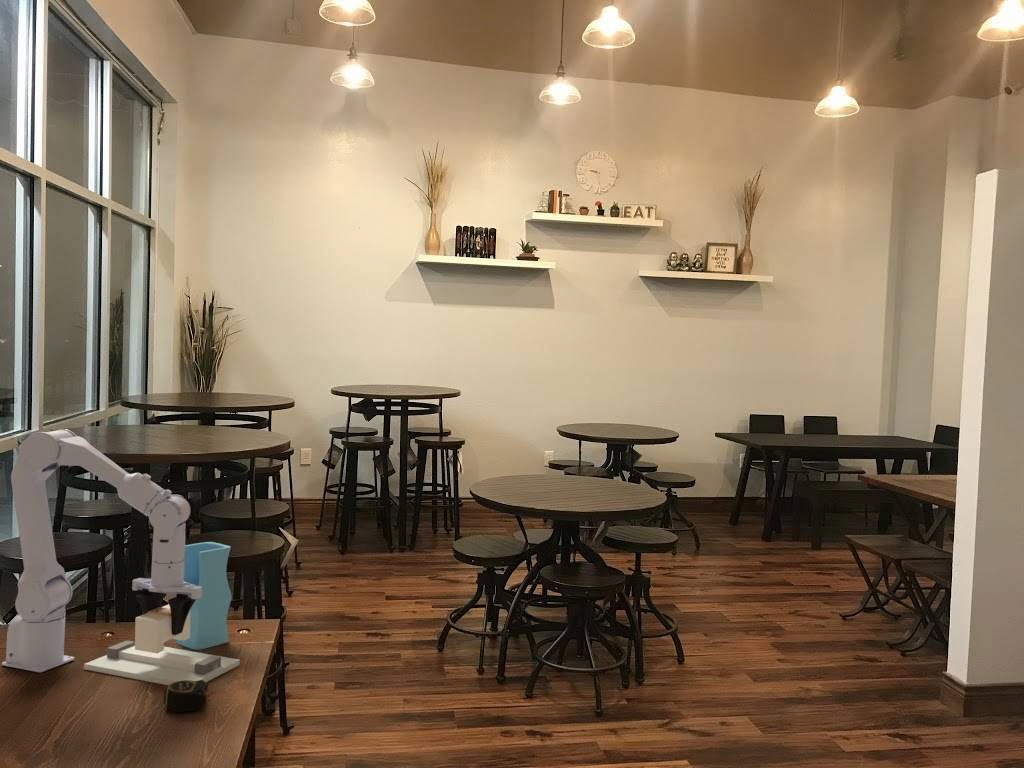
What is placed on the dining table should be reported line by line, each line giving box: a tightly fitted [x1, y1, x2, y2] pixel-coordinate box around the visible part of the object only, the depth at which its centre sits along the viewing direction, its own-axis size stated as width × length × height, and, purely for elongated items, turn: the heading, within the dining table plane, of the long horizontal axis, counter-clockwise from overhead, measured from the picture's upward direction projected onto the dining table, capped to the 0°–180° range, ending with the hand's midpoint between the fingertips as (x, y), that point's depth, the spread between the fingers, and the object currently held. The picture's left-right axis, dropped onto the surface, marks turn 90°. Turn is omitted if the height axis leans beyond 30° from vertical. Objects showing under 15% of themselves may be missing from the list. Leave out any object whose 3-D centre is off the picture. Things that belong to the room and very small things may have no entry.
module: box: [134, 603, 191, 653], centre depth 157 cm, size 5×9×6 cm, turn 163°
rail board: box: [83, 640, 241, 686], centre depth 158 cm, size 24×14×3 cm, turn 73°
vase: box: [176, 541, 233, 651], centre depth 173 cm, size 8×8×20 cm
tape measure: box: [163, 680, 209, 713], centre depth 140 cm, size 7×7×4 cm
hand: (165, 631), depth 157 cm, fingers closed on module, 5 cm apart
